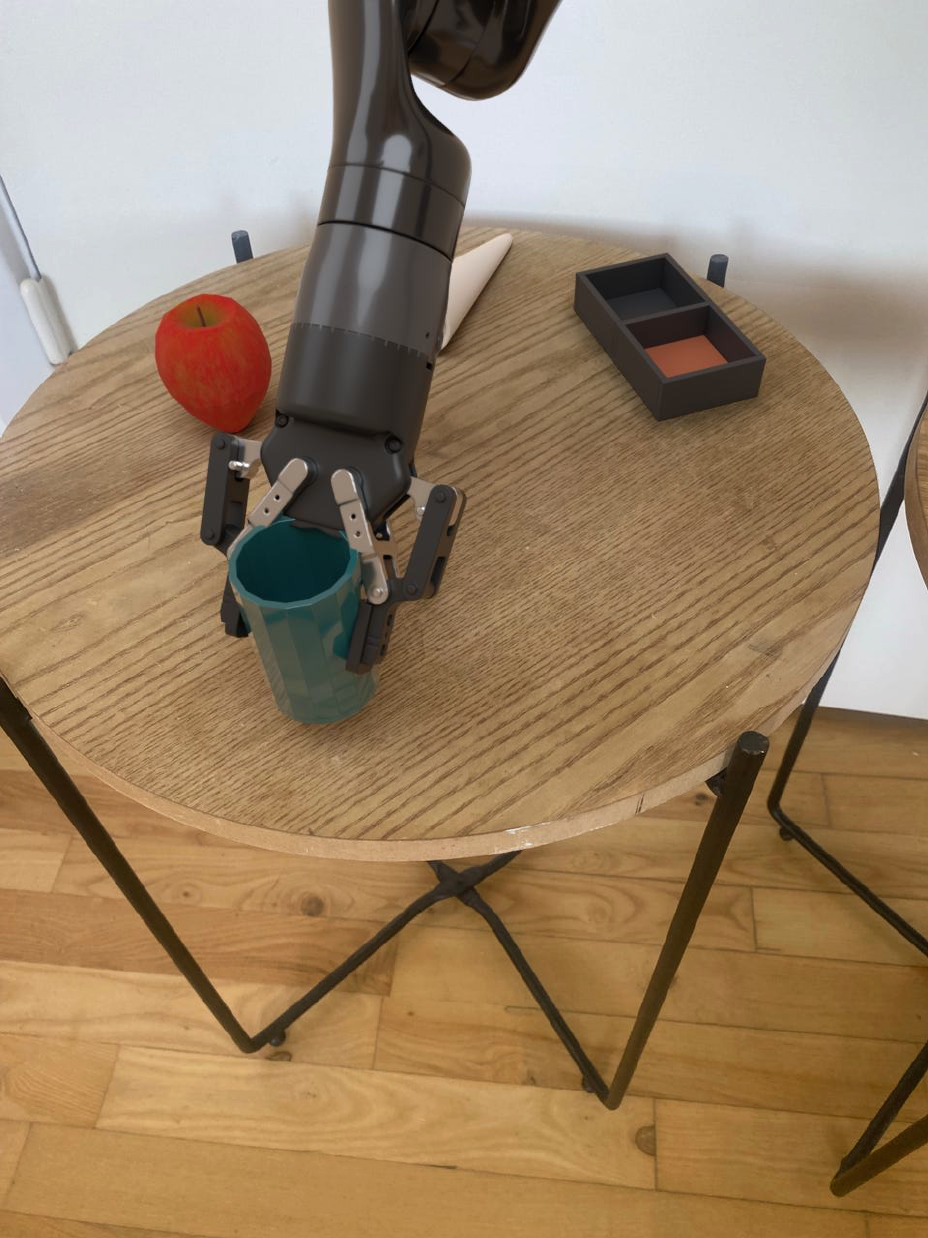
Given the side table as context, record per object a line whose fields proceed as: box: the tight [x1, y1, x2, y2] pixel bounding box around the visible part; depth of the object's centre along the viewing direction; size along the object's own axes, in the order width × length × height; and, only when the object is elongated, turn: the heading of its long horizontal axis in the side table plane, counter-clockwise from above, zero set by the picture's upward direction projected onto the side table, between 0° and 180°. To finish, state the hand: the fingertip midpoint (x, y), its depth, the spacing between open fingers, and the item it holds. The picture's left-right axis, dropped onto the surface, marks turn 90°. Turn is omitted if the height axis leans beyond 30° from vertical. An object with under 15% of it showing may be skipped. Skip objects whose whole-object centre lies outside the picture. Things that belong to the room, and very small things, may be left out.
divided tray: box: [573, 252, 767, 422], centre depth 80 cm, size 17×9×4 cm, turn 19°
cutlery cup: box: [227, 516, 381, 726], centre depth 51 cm, size 6×6×10 cm
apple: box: [154, 293, 273, 434], centre depth 73 cm, size 9×8×11 cm
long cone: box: [440, 232, 514, 351], centre depth 86 cm, size 6×6×19 cm
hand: (298, 652), depth 51 cm, fingers closed on cutlery cup, 6 cm apart
